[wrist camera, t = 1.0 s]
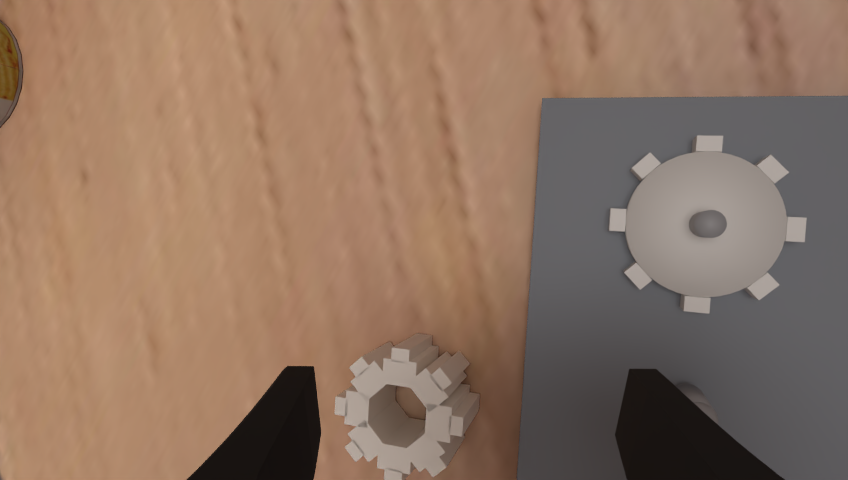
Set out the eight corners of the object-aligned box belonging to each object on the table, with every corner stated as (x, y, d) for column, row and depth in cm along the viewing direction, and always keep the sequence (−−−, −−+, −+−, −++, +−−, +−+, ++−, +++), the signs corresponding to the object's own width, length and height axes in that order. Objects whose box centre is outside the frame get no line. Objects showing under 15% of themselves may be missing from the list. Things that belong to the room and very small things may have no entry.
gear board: (835, 708, 22) (900, 834, 17) (509, 620, 26) (491, 704, 21) (888, 102, 21) (970, 66, 17) (544, 104, 25) (533, 75, 20)
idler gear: (475, 462, 26) (458, 496, 23) (362, 441, 28) (331, 470, 24) (483, 341, 26) (467, 357, 23) (369, 327, 28) (338, 340, 24)
